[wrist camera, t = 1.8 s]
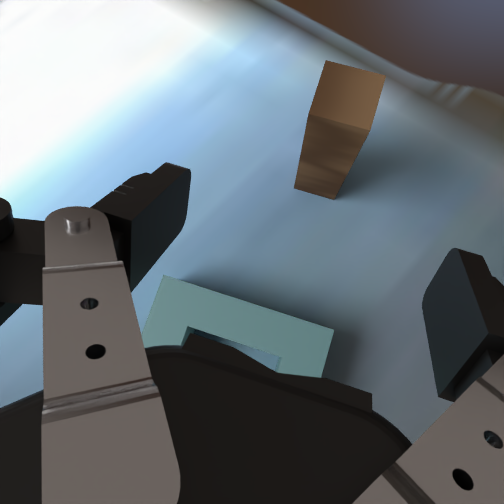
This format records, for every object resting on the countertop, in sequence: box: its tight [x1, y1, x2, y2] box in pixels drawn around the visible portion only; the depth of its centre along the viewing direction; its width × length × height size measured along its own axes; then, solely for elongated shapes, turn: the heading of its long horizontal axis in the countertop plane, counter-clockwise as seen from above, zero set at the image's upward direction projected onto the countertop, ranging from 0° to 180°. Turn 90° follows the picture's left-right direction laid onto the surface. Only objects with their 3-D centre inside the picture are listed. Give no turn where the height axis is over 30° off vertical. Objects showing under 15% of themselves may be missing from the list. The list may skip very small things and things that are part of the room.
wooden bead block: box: [141, 275, 334, 378], centre depth 24 cm, size 11×11×3 cm
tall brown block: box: [294, 60, 386, 200], centre depth 24 cm, size 3×3×10 cm
